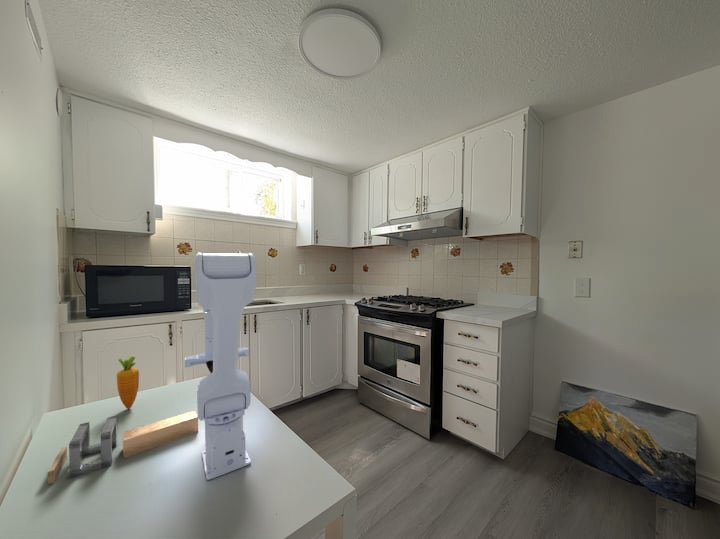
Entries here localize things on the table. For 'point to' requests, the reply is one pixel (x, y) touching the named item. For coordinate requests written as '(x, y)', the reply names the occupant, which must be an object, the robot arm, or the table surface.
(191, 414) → the pine wood beam
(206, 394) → the robot arm
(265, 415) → the table surface
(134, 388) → the carrot
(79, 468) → the gray metal beam bracket
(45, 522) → the table surface
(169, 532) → the table surface
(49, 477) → the bar
